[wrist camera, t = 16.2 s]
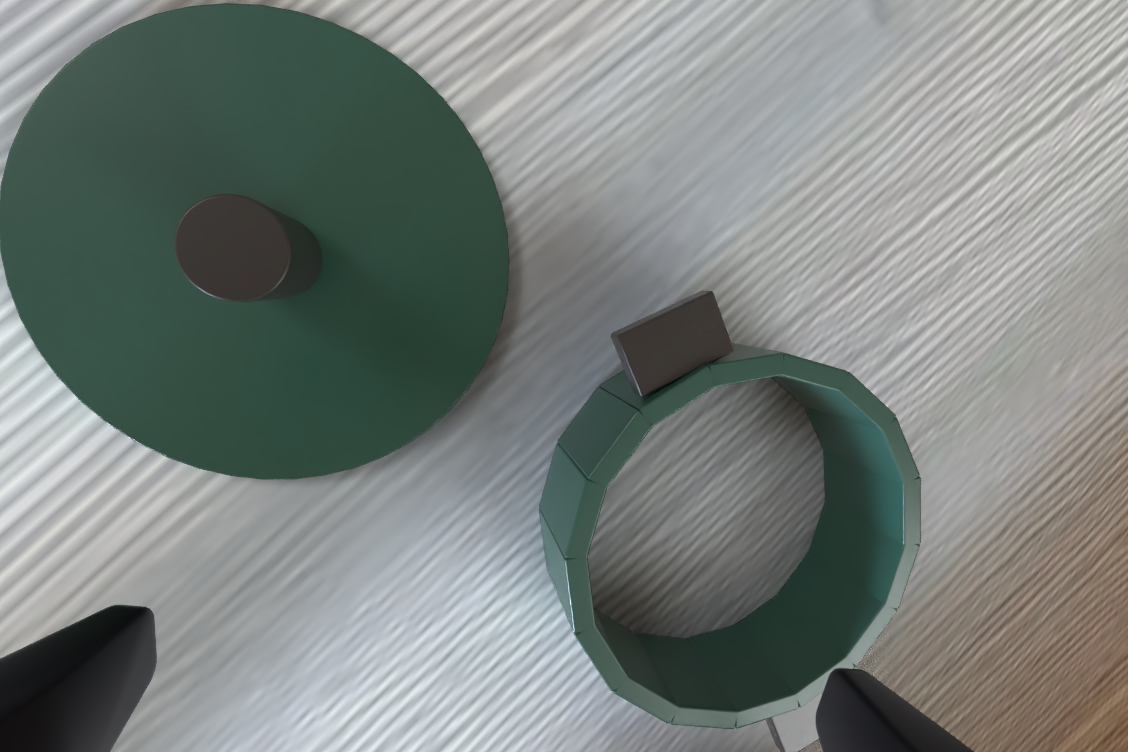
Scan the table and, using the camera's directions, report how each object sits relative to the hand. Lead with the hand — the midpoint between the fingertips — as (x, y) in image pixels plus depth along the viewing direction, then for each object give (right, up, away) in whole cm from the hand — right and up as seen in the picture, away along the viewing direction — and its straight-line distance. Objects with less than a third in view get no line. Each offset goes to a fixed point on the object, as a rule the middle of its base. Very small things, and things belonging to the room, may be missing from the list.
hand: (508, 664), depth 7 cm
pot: (+6, -1, +14) cm, 15 cm away
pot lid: (-8, +7, +9) cm, 14 cm away
